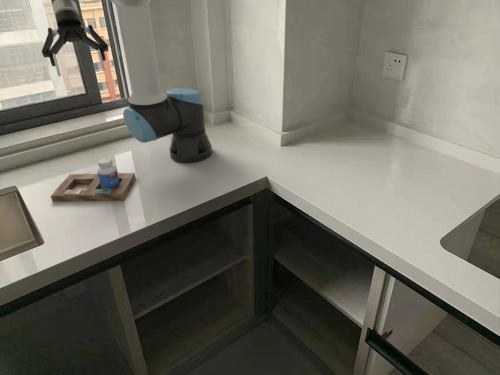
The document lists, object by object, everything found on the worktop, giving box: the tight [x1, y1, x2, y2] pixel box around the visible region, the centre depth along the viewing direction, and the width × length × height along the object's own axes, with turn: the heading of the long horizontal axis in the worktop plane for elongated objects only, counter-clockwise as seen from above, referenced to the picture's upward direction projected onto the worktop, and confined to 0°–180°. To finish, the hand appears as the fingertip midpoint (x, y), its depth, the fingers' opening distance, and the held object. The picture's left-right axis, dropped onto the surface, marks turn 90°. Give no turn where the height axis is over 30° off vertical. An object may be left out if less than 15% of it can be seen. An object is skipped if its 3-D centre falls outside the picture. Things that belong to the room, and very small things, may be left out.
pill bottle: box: [96, 157, 120, 189], centre depth 111 cm, size 6×5×10 cm
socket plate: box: [50, 172, 137, 203], centre depth 112 cm, size 21×13×2 cm, turn 90°
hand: (81, 71), depth 120 cm, fingers open, 13 cm apart
